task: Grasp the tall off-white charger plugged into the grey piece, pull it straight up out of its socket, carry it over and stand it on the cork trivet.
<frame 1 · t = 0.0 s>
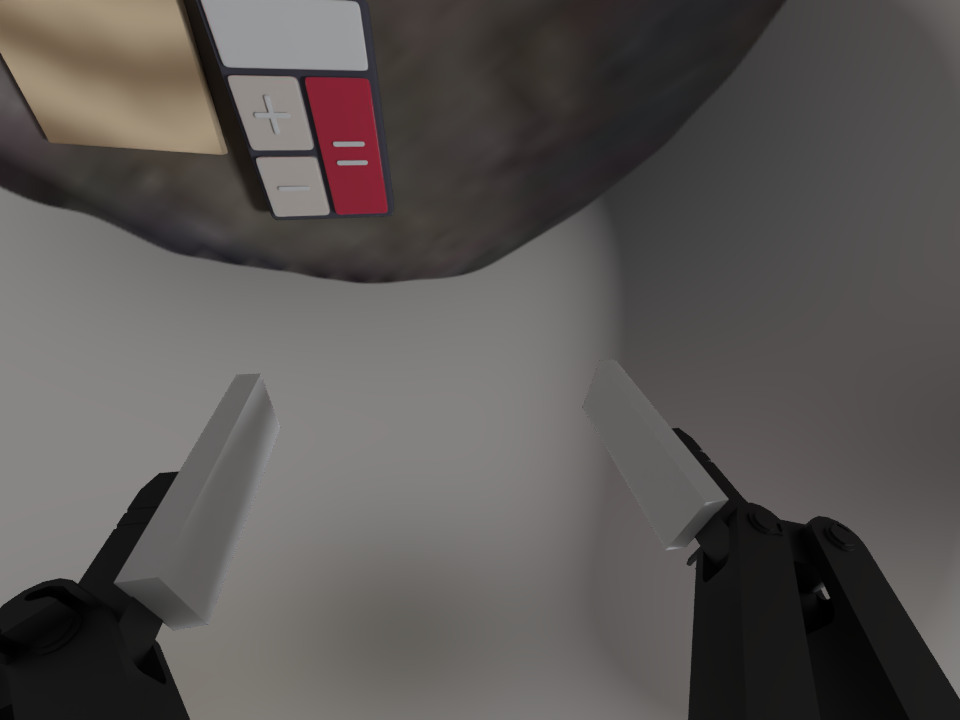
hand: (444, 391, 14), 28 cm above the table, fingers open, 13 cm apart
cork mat: (109, 52, 26), on the table
calculator: (319, 119, 31), on the table
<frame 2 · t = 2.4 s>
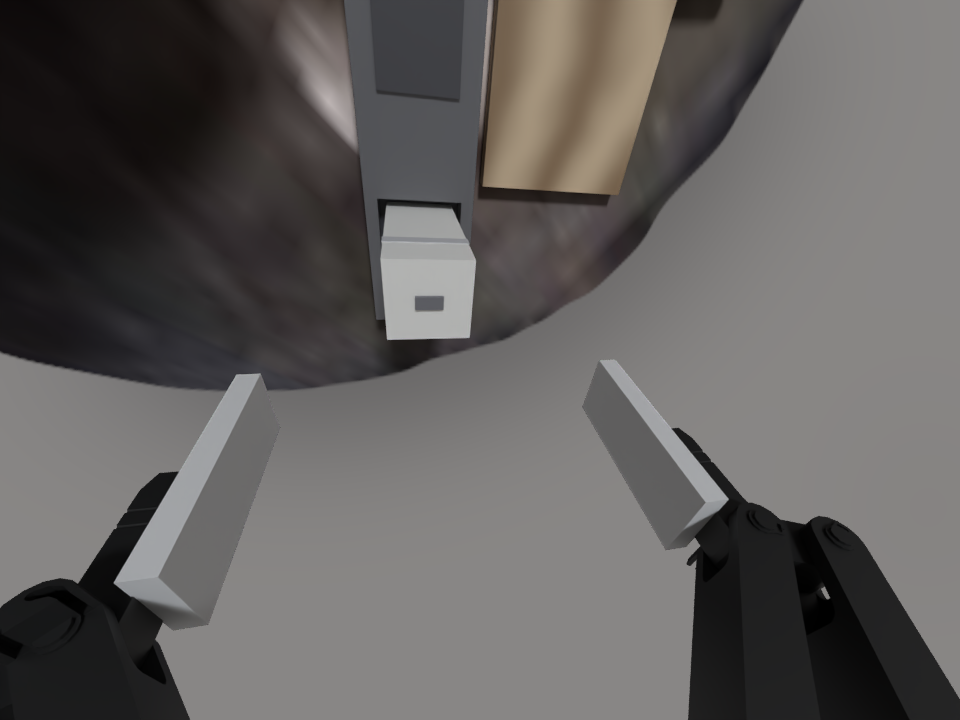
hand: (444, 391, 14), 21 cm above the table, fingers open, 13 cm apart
grey piece: (417, 150, 26), on the table
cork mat: (564, 101, 26), on the table
charger: (419, 234, 29), point 1 cm above the table, touching grey piece
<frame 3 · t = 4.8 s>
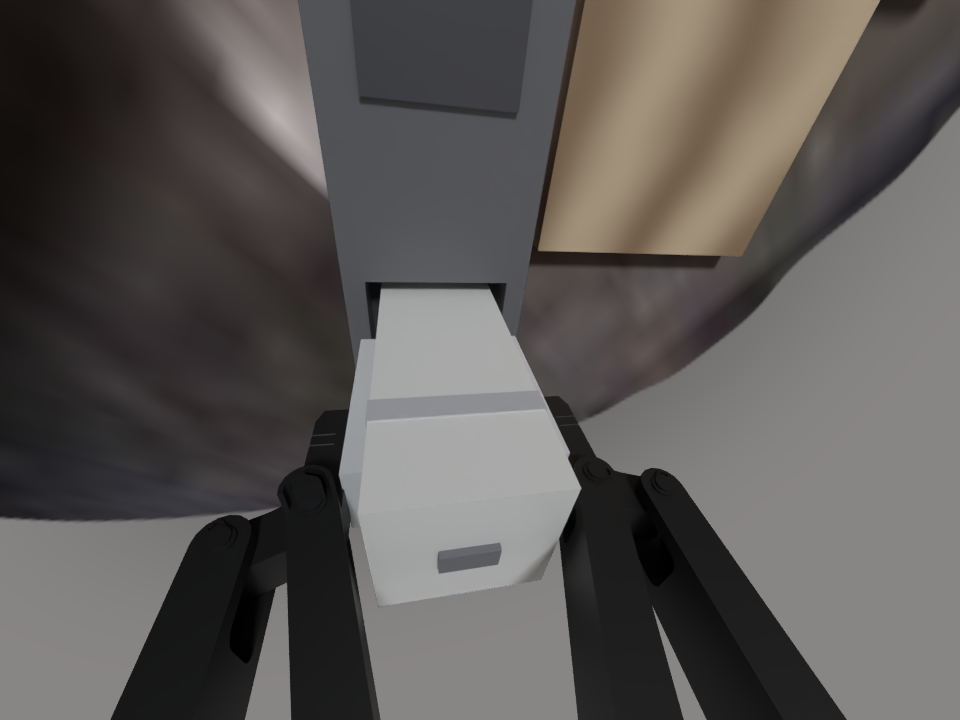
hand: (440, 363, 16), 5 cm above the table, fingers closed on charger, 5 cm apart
grey piece: (434, 195, 16), on the table
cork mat: (680, 113, 16), on the table
charger: (434, 321, 19), point 1 cm above the table, touching gripper, grey piece
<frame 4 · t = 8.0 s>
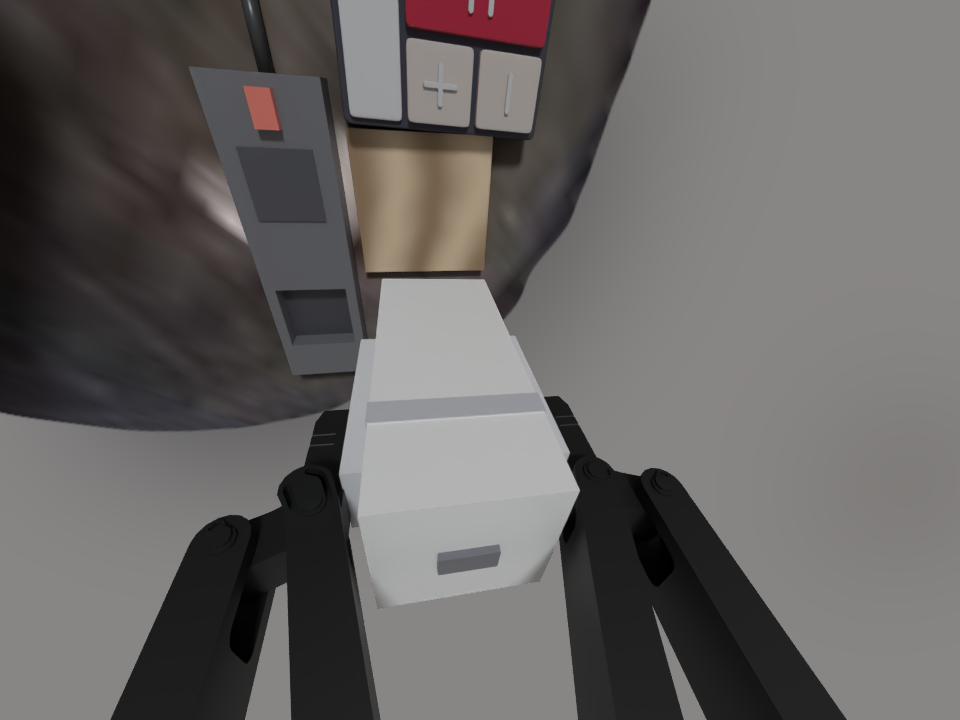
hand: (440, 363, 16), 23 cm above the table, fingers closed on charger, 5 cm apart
grey piece: (309, 248, 33), on the table
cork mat: (423, 206, 33), on the table
calculator: (441, 44, 27), on the table
charger: (434, 323, 19), point 19 cm above the table, touching gripper
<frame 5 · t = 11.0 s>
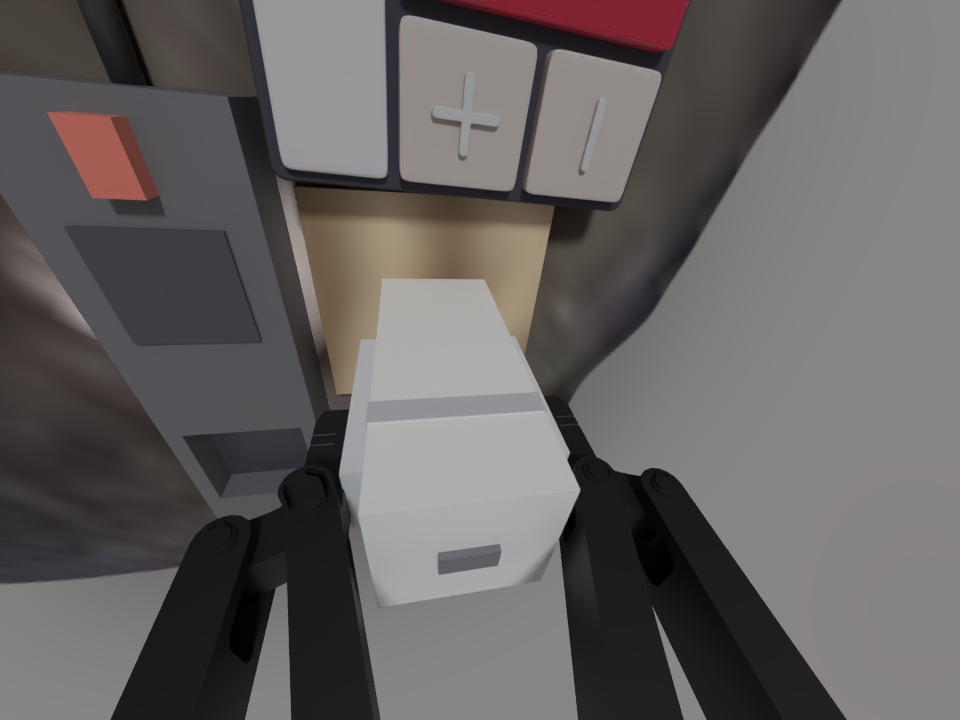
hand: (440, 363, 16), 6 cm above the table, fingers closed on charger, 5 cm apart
grey piece: (245, 360, 21), on the table
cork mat: (431, 299, 21), on the table
calculator: (468, 36, 14), on the table
charger: (434, 322, 19), point 3 cm above the table, touching gripper
when the fingers open (6 cm above the table, at t = 11.4 s): charger drops 1 cm, resting on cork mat.
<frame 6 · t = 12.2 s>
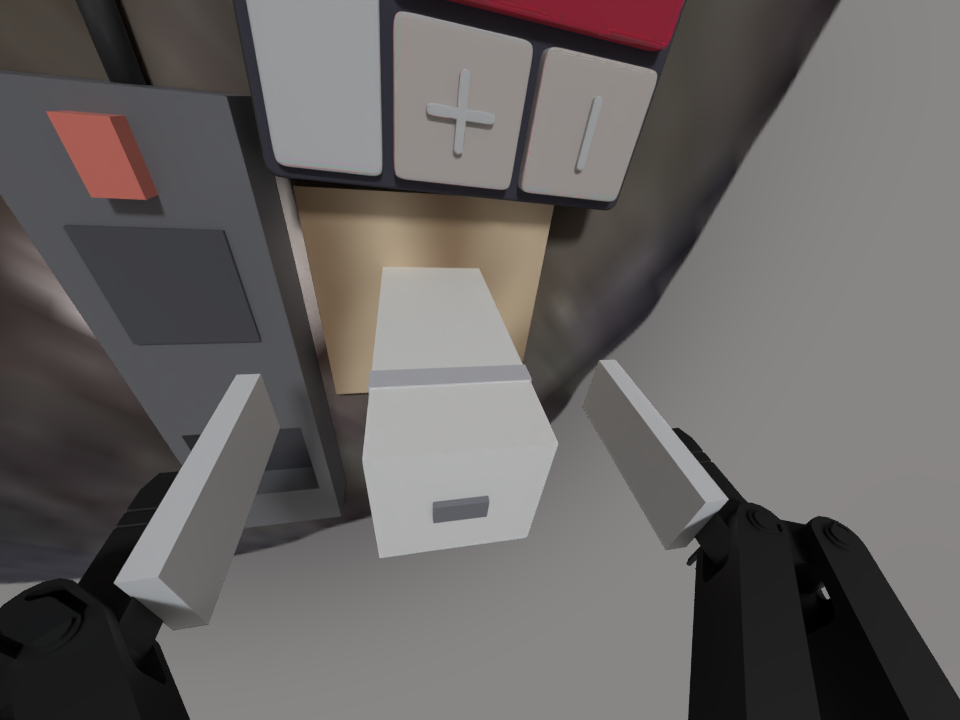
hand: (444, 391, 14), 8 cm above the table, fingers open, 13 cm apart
grey piece: (245, 360, 21), on the table
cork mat: (431, 299, 21), on the table
calculator: (464, 34, 14), on the table
charger: (431, 310, 20), point 1 cm above the table, touching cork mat
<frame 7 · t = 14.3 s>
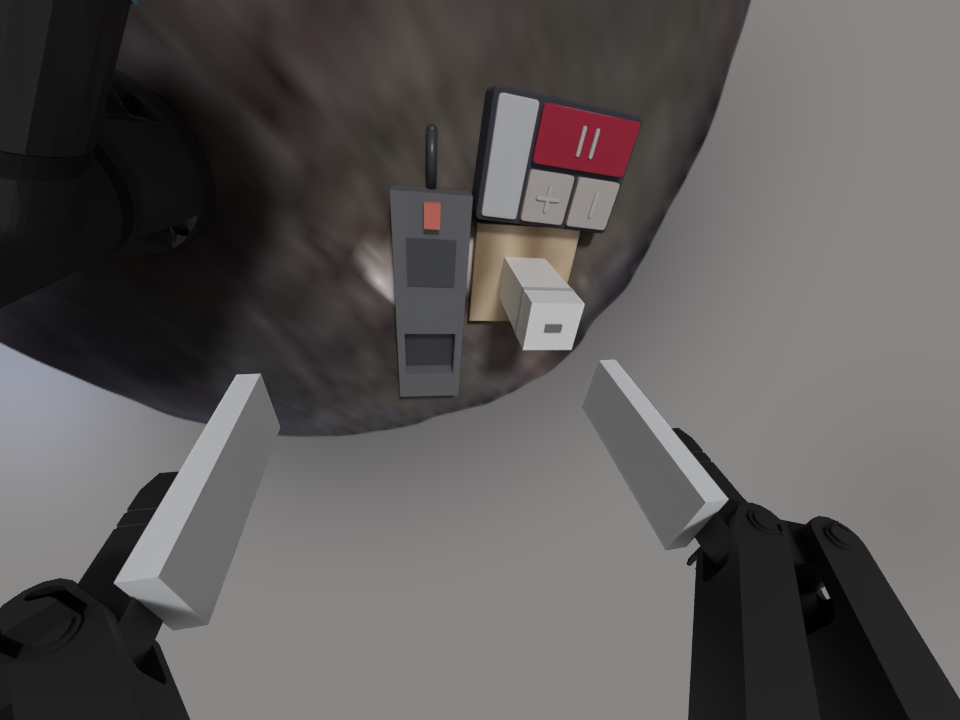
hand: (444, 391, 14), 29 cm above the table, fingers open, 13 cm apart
grey piece: (429, 301, 44), on the table
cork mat: (519, 273, 43), on the table
calculator: (546, 165, 37), on the table
charger: (521, 278, 42), point 1 cm above the table, touching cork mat
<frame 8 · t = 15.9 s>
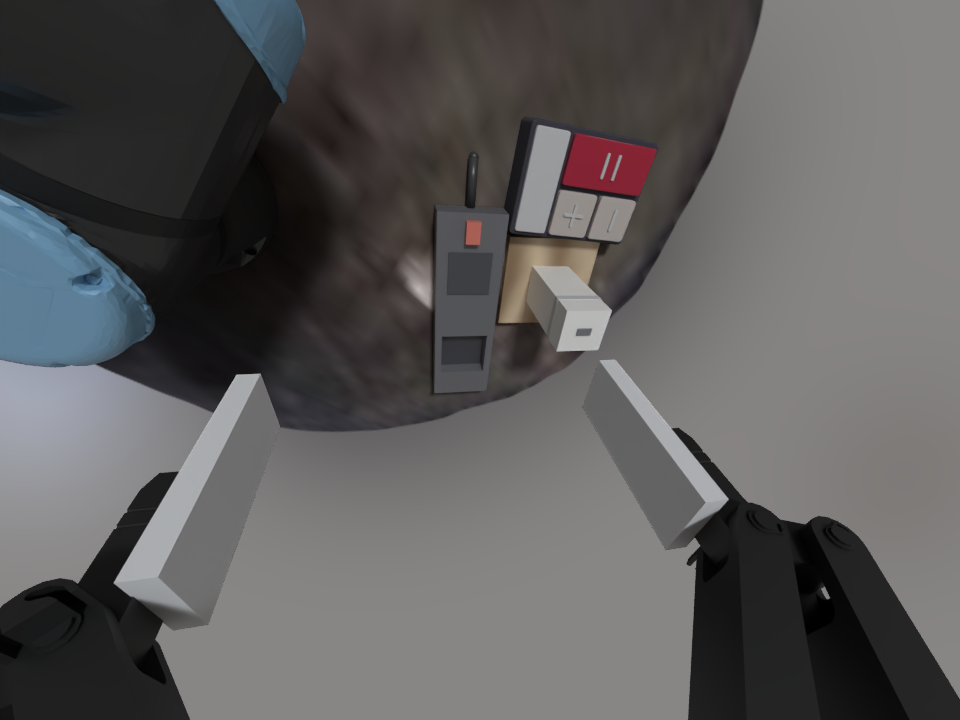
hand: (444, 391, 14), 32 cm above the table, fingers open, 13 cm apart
grey piece: (462, 306, 48), on the table
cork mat: (544, 280, 48), on the table
calculator: (569, 183, 41), on the table
charger: (546, 284, 47), point 1 cm above the table, touching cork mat
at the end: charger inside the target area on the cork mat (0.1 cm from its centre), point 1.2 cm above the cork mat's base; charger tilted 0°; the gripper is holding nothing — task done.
